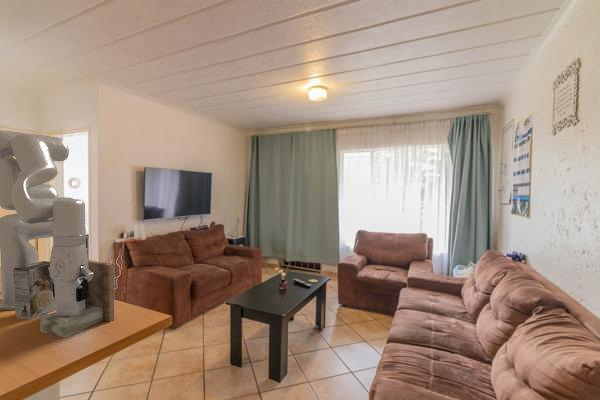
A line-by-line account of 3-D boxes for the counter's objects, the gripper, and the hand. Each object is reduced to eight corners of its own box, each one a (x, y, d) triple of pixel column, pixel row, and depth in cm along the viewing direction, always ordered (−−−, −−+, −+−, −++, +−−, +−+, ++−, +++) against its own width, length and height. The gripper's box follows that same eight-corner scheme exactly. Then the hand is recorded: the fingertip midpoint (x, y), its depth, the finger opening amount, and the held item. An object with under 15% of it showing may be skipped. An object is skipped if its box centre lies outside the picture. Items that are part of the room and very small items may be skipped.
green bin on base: (24, 327, 85) (22, 267, 84) (69, 309, 97) (68, 257, 96) (72, 339, 79) (71, 275, 78) (114, 319, 91) (113, 263, 90)
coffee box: (45, 305, 100) (44, 260, 99) (60, 308, 98) (59, 261, 97) (14, 317, 91) (12, 267, 90) (30, 320, 89) (29, 269, 88)
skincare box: (86, 309, 89) (85, 271, 88) (78, 316, 84) (78, 275, 84) (62, 311, 87) (61, 272, 87) (54, 318, 83) (53, 276, 82)
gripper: (35, 240, 84) (36, 298, 85) (77, 246, 79) (78, 307, 80) (63, 236, 91) (64, 289, 92) (103, 241, 86) (104, 297, 87)
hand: (70, 297), depth 86 cm, fingers open, 9 cm apart
